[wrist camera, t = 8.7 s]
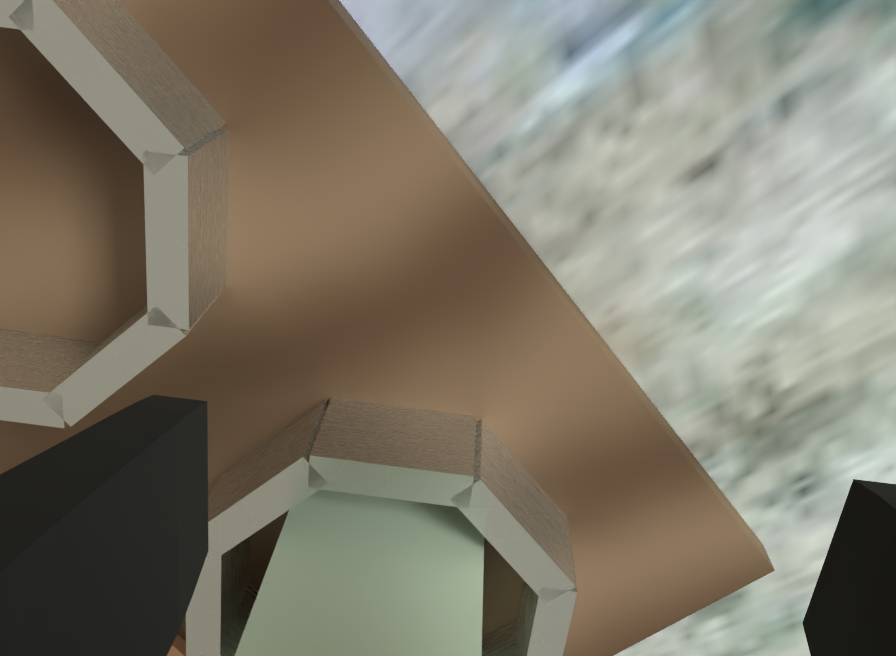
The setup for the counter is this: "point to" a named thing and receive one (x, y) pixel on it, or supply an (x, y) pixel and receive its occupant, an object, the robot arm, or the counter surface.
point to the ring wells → (187, 299)
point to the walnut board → (355, 300)
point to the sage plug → (370, 581)
